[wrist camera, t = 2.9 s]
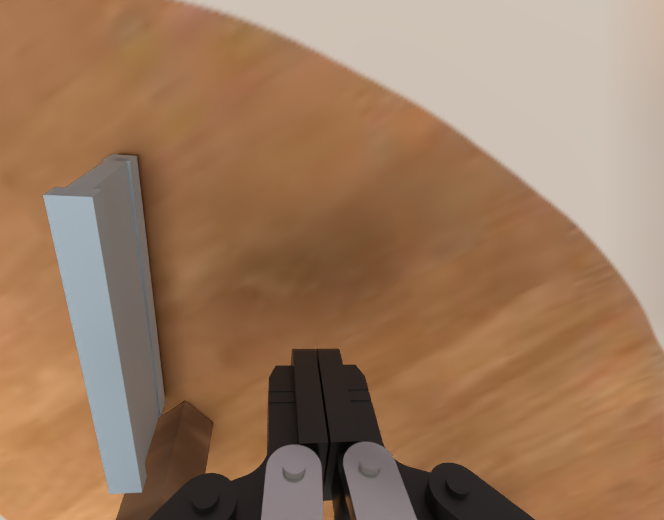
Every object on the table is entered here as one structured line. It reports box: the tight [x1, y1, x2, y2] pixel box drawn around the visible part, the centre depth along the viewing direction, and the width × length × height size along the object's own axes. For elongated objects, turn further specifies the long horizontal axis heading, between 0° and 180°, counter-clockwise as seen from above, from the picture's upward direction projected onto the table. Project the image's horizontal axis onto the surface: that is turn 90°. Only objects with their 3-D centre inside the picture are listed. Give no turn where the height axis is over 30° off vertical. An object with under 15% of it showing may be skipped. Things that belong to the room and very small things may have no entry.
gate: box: [43, 154, 165, 494], centre depth 19 cm, size 14×1×6 cm, turn 175°
